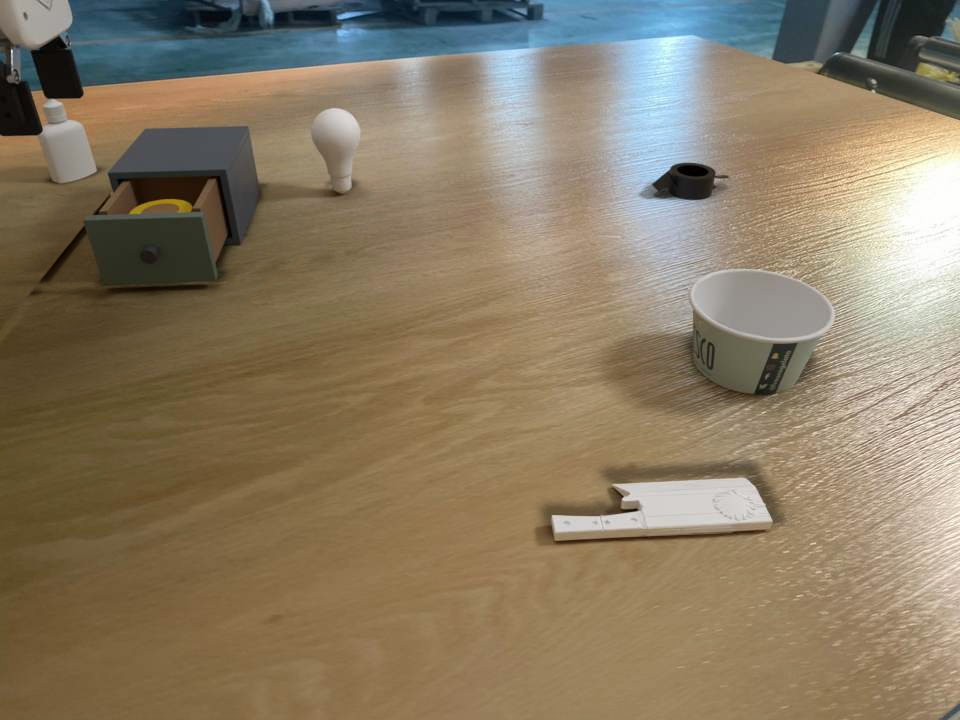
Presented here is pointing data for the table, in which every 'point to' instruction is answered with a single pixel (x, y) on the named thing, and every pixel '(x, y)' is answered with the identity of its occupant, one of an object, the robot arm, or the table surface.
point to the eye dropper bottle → (65, 145)
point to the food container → (756, 328)
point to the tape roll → (163, 207)
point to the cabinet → (198, 165)
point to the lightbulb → (337, 144)
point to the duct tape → (688, 181)
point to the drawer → (160, 232)
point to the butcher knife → (673, 511)
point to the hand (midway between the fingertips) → (44, 115)
